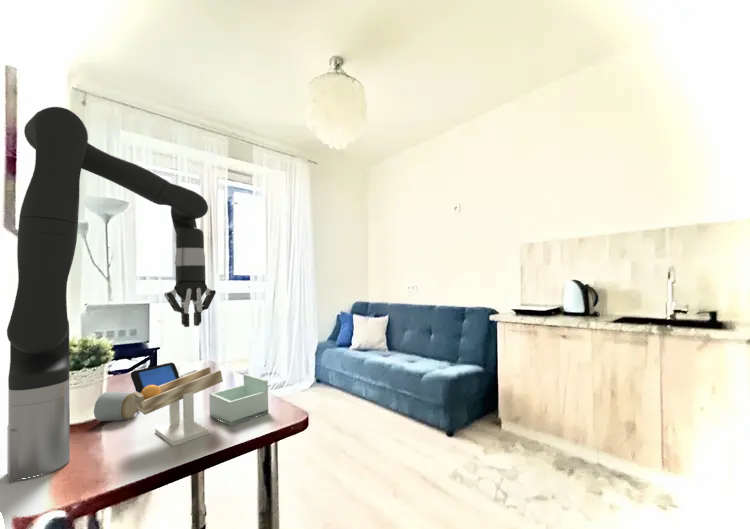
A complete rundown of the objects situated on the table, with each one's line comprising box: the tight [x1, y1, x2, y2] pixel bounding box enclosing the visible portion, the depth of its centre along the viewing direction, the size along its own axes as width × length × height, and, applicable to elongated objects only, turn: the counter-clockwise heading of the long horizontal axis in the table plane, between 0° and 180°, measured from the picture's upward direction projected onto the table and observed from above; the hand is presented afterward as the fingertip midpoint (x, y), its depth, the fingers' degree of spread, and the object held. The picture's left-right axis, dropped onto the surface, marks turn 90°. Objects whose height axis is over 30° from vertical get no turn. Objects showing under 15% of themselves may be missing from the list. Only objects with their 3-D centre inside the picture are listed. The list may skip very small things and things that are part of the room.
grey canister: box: [93, 391, 140, 422], centre depth 101 cm, size 11×8×8 cm
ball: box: [141, 385, 161, 400], centre depth 83 cm, size 4×4×4 cm
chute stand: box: [154, 392, 209, 447], centre depth 88 cm, size 8×12×10 cm, turn 48°
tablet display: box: [130, 362, 181, 393], centre depth 121 cm, size 16×13×9 cm
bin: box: [208, 373, 270, 427], centre depth 99 cm, size 11×12×9 cm
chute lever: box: [132, 366, 224, 416], centre depth 91 cm, size 18×16×4 cm
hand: (191, 325), depth 100 cm, fingers closed
